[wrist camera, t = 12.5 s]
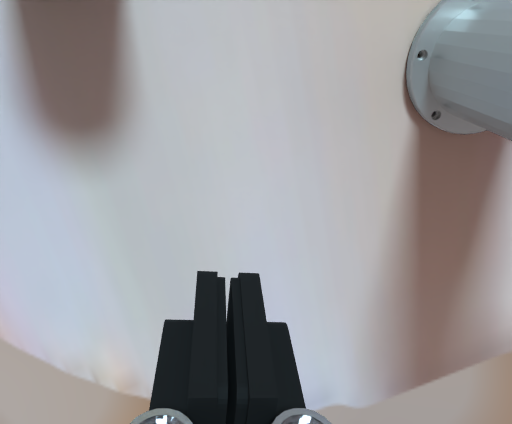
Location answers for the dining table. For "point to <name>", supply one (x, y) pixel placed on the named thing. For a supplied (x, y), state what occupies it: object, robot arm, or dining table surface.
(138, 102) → the dining table surface
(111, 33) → the dining table surface
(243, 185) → the dining table surface
